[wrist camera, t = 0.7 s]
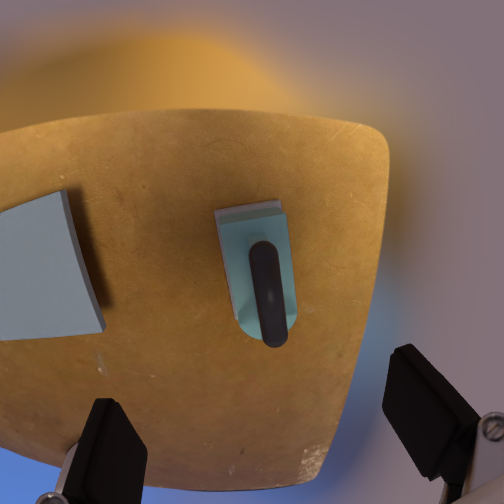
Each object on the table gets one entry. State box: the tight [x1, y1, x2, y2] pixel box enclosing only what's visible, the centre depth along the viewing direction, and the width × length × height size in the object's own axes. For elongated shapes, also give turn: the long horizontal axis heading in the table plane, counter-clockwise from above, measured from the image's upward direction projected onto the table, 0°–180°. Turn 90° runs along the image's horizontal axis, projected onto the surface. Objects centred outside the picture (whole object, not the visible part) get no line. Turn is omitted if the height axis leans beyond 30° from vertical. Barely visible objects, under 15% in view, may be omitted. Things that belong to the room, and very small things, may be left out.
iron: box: [214, 199, 297, 348], centre depth 25 cm, size 12×6×9 cm, turn 9°
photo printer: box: [55, 443, 78, 494], centre depth 30 cm, size 10×4×12 cm, turn 135°
